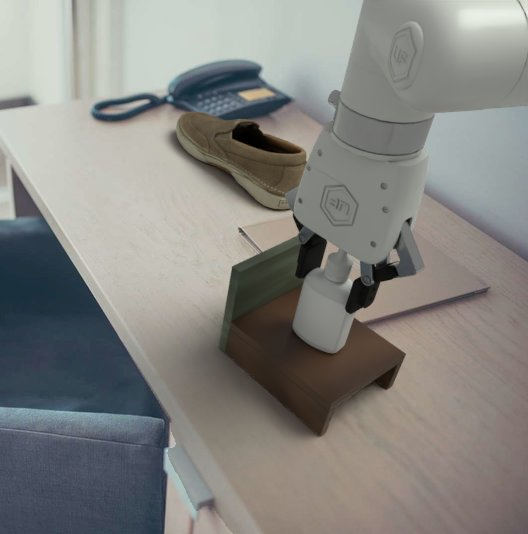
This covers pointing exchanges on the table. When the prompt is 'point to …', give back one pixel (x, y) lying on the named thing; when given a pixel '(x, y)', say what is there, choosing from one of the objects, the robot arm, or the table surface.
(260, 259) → the shelf
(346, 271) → the eye dropper bottle
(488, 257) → the table surface
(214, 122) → the slip on shoe
